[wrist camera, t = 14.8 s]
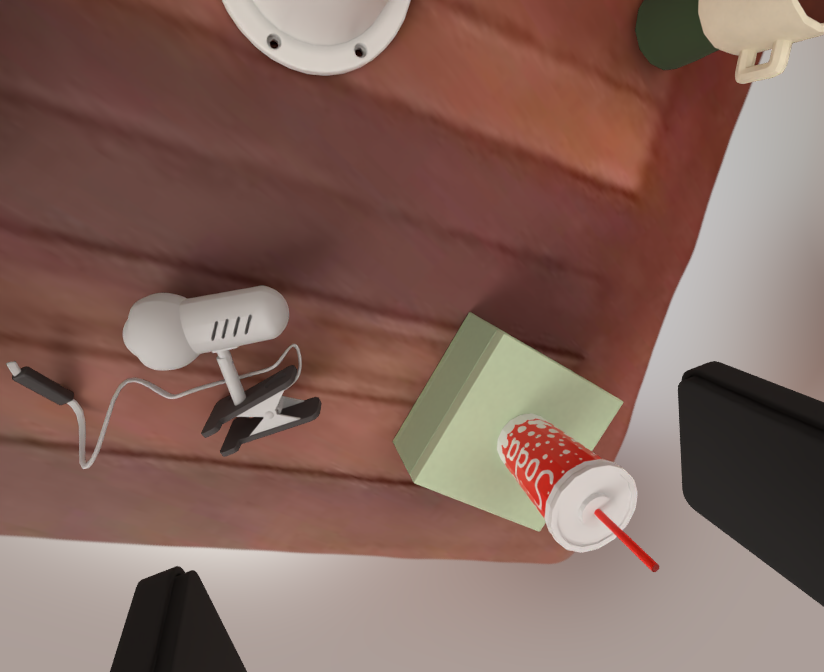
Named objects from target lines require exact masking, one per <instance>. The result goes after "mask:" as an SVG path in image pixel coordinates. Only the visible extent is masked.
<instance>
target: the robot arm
mask: <svg viewBox="0 0 824 672" xmlns="http://www.w3.org/2000/svg"><path fill="white" fill-rule="evenodd" d="M410 1H411V0H222V2H223V4H224V6H225V8H226V10H227V12H228V14H229V15H230V16H231V18H232V19H233V21H234V22H235V24H236V25H237V27H238V28H239V30H240V31H241V32H242V33H243V34H244V35H245V36H246V37H247V38H248V39H249V41H250V42H251V43H252V44H253V45H254V46H255V47H256V48H258V49H259V50H260V51H262V52H263V53H264V54H266V55H267V56H268V57H270V58H271V59H272V60H274V61H276V62H278V63H280V64H282V65H284V66H286V67H288V68H290V69H293V70H296V71H299V72H303V73H306V74H312V75H324V76H329V75H337V74H344V73H347V72H350V71H353V70H355V69H358V68H361V67H362V66H364V65H365V64H367V63H369V62H370V61H372V60H373V59H375V58H376V57H377V56H378V55H379V54H380V53H381V52H382V51H383V50H384V49H385V48H386V47H387V46H388V45H389V44H390V42H391V41H392V40H393V38H394V37H395V36H396V34H397V32H398V31H399V29H400V27H401V25H402V23H403V21H404V19H405V17H406V13H407V10H408V7H409V4H410ZM271 41H275V42H276V43H277V44H278V47H277V48H275V49H274V48H272V47H271V46H270V42H271ZM356 50H360V51H361V52H362V56H361V57H358V56H357V55H356V53H355V51H356ZM678 401H679V423H680V444H681V466H682V489H683V494H684V497H685V499H686V501H687V502H688V504H689V505H690V506H691V507H692V508H693V509H694V510H695V511H697V512H698V513H699V514H701V515H702V516H703V517H705V518H706V519H708V520H709V521H710V522H711V523H713V524H714V525H716V526H717V527H718V528H720V529H721V530H722V531H723V532H725V533H726V534H728V535H729V536H730V537H731V538H733V539H734V540H736V541H737V542H738V543H740V544H741V545H742V546H743V547H745V548H746V549H748V550H749V551H750V552H752V553H753V554H754V555H756V556H757V557H758V558H760V559H761V560H762V561H763V562H765V563H766V564H767V565H769V566H770V567H772V568H773V569H774V570H776V571H777V572H778V573H779V574H781V575H782V576H783V577H785V578H786V579H788V580H789V581H790V582H792V583H793V584H794V585H796V586H797V587H798V588H800V589H801V590H802V591H804V592H805V593H806V594H808V595H809V596H810V597H812V598H813V599H814V600H816V601H817V602H819V603H820V604H821V605H822V606H824V402H821V401H819V400H816V399H814V398H811V397H808V396H806V395H803V394H801V393H798V392H795V391H793V390H790V389H787V388H785V387H783V386H780V385H777V384H775V383H772V382H770V381H767V380H764V379H762V378H759V377H757V376H754V375H751V374H749V373H746V372H744V371H741V370H738V369H736V368H733V367H731V366H728V365H725V364H723V363H720V362H716V361H713V362H709V363H706V364H703V365H701V366H698V367H696V368H693V369H691V370H688V371H686V372H685V373H684V375H683V376H682V381H681V382H680V383H679V385H678ZM110 672H247V671H246V669H245V667H244V665H243V663H242V661H241V659H240V657H239V655H238V653H237V651H236V649H235V647H234V645H233V643H232V641H231V639H230V637H229V635H228V633H227V631H226V629H225V627H224V625H223V623H222V621H221V619H220V617H219V615H218V613H217V611H216V609H215V607H214V605H213V603H212V601H211V599H210V597H209V595H208V594H207V591H206V589H205V587H204V585H203V583H202V581H201V579H200V577H199V576H198V574H197V573H196V572H195V571H193V570H192V571H189V572H187V573H185V572H184V570H183V569H182V568H181V567H178V566H176V567H174V568H171V569H168V570H166V571H163V572H161V573H158V574H156V575H153V576H150V577H148V578H145V579H142V580H141V581H140V582H139V583H138V585H137V587H136V590H135V593H134V596H133V600H132V603H131V606H130V609H129V612H128V616H127V619H126V622H125V625H124V628H123V632H122V635H121V638H120V641H119V644H118V648H117V651H116V654H115V658H114V661H113V664H112V667H111V670H110Z"/></svg>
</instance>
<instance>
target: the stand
mask: <svg viewBox="0 0 824 672" xmlns="http://www.w3.org/2000/svg"><path fill="white" fill-rule="evenodd" d="M622 404H623V401H622V400H620V399H618V398H617V397H615V396H613V395H612V394H610V393H608V392H607V391H605V390H603V389H602V388H600V387H598V386H597V385H595V384H593V383H592V382H590V381H588V380H586V379H585V378H583V377H581V376H580V375H578V374H576V373H575V372H573V371H571V370H570V369H568V368H566V367H564V366H563V365H561V364H559V363H557V362H556V361H554V360H552V359H550V358H549V357H547V356H545V355H544V354H542V353H540V352H538V351H537V350H535V349H533V348H531V347H530V346H528V345H526V344H525V343H523V342H521V341H519V340H518V339H516V338H514V337H512V336H511V335H509V334H507V333H506V332H504V331H502V330H500V329H499V328H497V327H495V326H493V325H492V324H490V323H488V322H486V321H485V320H483V319H481V318H480V317H478V316H476V315H474V314H473V313H471V312H469V313H468V315H467V317H466V319H465V320H464V322H463V324H462V325H461V327H460V329H459V330H458V332H457V334H456V335H455V337H454V339H453V340H452V342H451V344H450V345H449V347H448V349H447V351H446V352H445V354H444V356H443V357H442V359H441V361H440V362H439V364H438V366H437V367H436V369H435V371H434V372H433V374H432V376H431V377H430V379H429V381H428V383H427V384H426V386H425V388H424V389H423V391H422V393H421V394H420V396H419V398H418V399H417V401H416V403H415V404H414V406H413V408H412V409H411V411H410V413H409V415H408V416H407V418H406V420H405V421H404V423H403V425H402V426H401V428H400V430H399V431H398V433H397V435H396V436H395V438H394V440H393V443H394V445H395V447H396V449H397V451H398V453H399V455H400V457H401V459H402V461H403V463H404V465H405V467H406V469H407V471H408V473H409V474H410V476H411V478H412V480H413V482H414V483H415V484H418V485H420V486H423V487H425V488H428V489H431V490H433V491H436V492H438V493H441V494H443V495H446V496H449V497H451V498H454V499H456V500H459V501H462V502H464V503H467V504H469V505H472V506H474V507H477V508H480V509H482V510H485V511H487V512H490V513H493V514H495V515H498V516H500V517H503V518H505V519H508V520H511V521H513V522H516V523H518V524H521V525H523V526H526V527H529V528H531V529H534V530H536V531H540V530H541V529H542V527H543V526H544V524H545V523H546V521H545V519H544V518H543V516H542V515H541V513H540V512H539V511H538V509H537V508H536V507H535V505H534V504H533V502H532V501H531V500H530V498H529V497H528V496H527V494H526V493H525V492H524V490H523V489H522V487H521V486H520V485H519V483H518V482H517V481H516V479H515V478H514V476H513V475H512V474H511V472H510V471H509V470H508V468H507V467H506V466H505V464H504V463H503V461H502V460H501V459H500V456H499V454H498V451H497V441H498V437H499V435H500V433H501V431H502V429H503V428H504V426H505V425H506V424H507V423H508V422H509V421H510V420H512V419H514V418H515V417H517V416H519V415H523V414H530V413H532V414H535V415H538V416H541V417H542V418H544V419H545V420H547V421H548V422H550V423H551V424H553V425H554V426H555V427H557V428H558V429H560V430H561V431H563V432H564V433H566V434H567V435H569V436H570V437H571V438H573V439H574V440H576V441H577V442H579V443H580V444H582V445H583V446H585V447H586V448H588V449H589V450H590V451H592V450H593V449H594V447H595V446H596V444H597V442H598V441H599V439H600V438H601V436H602V435H603V433H604V432H605V430H606V429H607V427H608V425H609V424H610V422H611V421H612V419H613V418H614V416H615V415H616V413H617V412H618V410H619V408H620V407H621V405H622Z"/></svg>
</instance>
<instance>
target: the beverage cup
mask: <svg viewBox="0 0 824 672" xmlns="http://www.w3.org/2000/svg"><path fill="white" fill-rule="evenodd" d="M497 451H498V454H499V456H500V459H501V460H502V461H503V463H504V464H505V466H506V467H507V468H508V470H509V471H510V472H511V474H512V475H513V476H514V478H515V479H516V481H517V482H518V483H519V485H520V486H521V487H522V489H523V490H524V492H525V493H526V494H527V496H528V497H529V498H530V500H531V501H532V502H533V504H534V505H535V507H536V508H537V509H538V511H539V512H540V513H541V515H542V516H543V518H544V519H545V521H546V524H547V527H548V530H549V532H550V533H551V534H552V535H553V538H554V539H555V540H556V541H557V542H558V543H559V544H560V545H562V546H563V547H564V548H565V549H566V550H571V551H576V552H581V553H582V552H586V551H591V550H595V549H598V548H600V547H602V546H604V545H605V544H607V543H609V542H610V541H612V540H614V539H615V538H616V537H618V538H619V539H620V540H621V541H622V542H623V543H624V544H625V545H626V546H627V547H628V548H629V549H630V550H631V551H632V552H633V553H634V554H635V555H636V556H637V557H638V558H639V559H640V560H641V561H642V562H643V563H644V564H645V565H646V566H647V567H648V568H649V569H650V570H652V571H653V572H656V571H657V570H658V569H659V565H658V564H657V563H656V562H655V561H654V560H653V559H652V558H651V557H650V556H648V554H646V553H645V552H644V551H643V550H642V549H641V548H640V547H639V546H638V545H637V544H636V543H635V542H634V541H633V540H632V539H631V538H629V536H628V535H627V534H625V533H624V532H623V531H622V530H623V529H624V528H625V527H626V526H627V524H628V522H629V520H630V518H631V517H632V515H633V513H634V511H635V507H636V500H637V495H638V493H637V489H636V485H635V481H634V479H633V478H632V477H631V476H630V475H629V474H628V473H627V472H626V471H625V469H623V468H622V467H620V466H618V465H617V464H616V463H614V462H611V461H607V460H604V459H602V458H601V457H599V456H598V455H596V454H595V453H593V452H592V451H590V450H589V449H588V448H586V447H585V446H583V445H582V444H580V443H579V442H577V441H576V440H574V439H573V438H571V437H570V436H569V435H567V434H566V433H564V432H563V431H561V430H560V429H558V428H557V427H555V426H554V425H553V424H551V423H550V422H548V421H547V420H545V419H544V418H542V417H541V416H538V415H535V414H532V413H530V414H523V415H519V416H517V417H515V418H514V419H512V420H510V421H509V422H508V423H507V424H506V425H505V426H504V428H503V429H502V431H501V433H500V435H499V437H498V441H497Z"/></svg>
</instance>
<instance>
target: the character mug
mask: <svg viewBox="0 0 824 672" xmlns="http://www.w3.org/2000/svg"><path fill="white" fill-rule="evenodd" d="M635 32H636V36H637V40H638V44H639V48H640V50H641V52H642V53H643V54H644V56H645V57H646V58H647V60H648V61H649V62H650V64H652V65H654V66H656V67H658V68H660V69H662V70H670V69H677V68H679V67H682V66H684V65H687V64H689V63H692V62H694V61H697V60H699V59H701V58H703V57H705V56H707V55H709V54H711V53H713V52H715V51H717V50H719V49H720V50H722V51H725V52H727V53H730V54H734V55H739V58H738V62H737V67H736V72H735V79H736V81H737V83H741V84H745V83H750V82H754V81H759V80H763V79H768V78H773V77H775V76H777V75H779V74H781V73H783V72H784V70H785V68H786V66H787V63H788V59H789V55H790V51H791V47H792V43H795V42H799V41H803V40H806V39H810V38H814V37H818V36H821V35H824V0H644V1H643V3H642V4H641V6H640V8H639V10H638V16H637V22H636V28H635ZM769 49H772V51H771V56H770V60H769V62H768V63H765V64H760V65H756V66H754V64H755V59H756V55H757V53H758V52H762V51H766V50H769Z"/></svg>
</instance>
